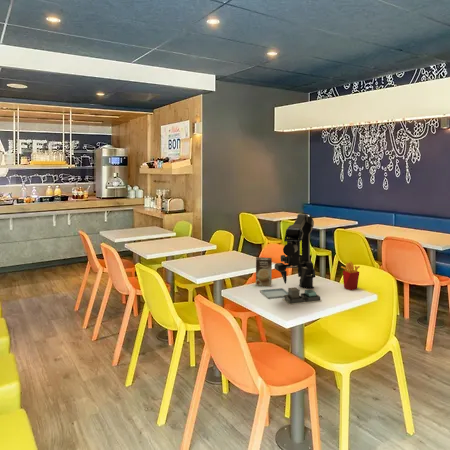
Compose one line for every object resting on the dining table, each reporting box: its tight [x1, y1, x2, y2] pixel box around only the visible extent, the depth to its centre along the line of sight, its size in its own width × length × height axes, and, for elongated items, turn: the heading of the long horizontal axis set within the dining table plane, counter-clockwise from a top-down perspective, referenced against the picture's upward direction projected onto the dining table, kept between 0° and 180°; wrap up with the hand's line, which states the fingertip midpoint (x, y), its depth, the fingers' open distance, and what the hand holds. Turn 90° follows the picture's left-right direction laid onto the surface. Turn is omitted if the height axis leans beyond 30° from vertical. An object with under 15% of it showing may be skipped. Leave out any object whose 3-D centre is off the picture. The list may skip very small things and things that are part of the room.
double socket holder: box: [282, 289, 323, 306], centre depth 219 cm, size 18×8×5 cm, turn 104°
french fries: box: [340, 260, 361, 291], centre depth 239 cm, size 9×8×15 cm
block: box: [287, 287, 301, 299], centre depth 217 cm, size 4×5×6 cm
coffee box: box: [255, 257, 273, 287], centre depth 247 cm, size 9×6×16 cm
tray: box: [259, 287, 288, 300], centre depth 230 cm, size 13×13×2 cm
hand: (293, 282), depth 216 cm, fingers open, 9 cm apart
